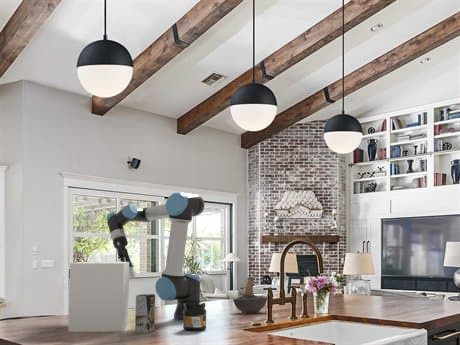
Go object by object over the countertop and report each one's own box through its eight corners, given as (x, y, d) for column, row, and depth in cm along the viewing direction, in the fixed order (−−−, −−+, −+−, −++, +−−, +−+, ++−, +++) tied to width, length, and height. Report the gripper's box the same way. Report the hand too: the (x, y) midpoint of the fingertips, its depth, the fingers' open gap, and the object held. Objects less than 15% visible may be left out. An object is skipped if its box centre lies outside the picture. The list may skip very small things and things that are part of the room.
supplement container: (197, 332, 275) (197, 304, 276) (178, 330, 281) (178, 303, 282) (210, 329, 284) (210, 302, 285) (191, 327, 290) (192, 301, 291)
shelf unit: (128, 325, 298) (129, 261, 301) (122, 331, 277) (123, 263, 280) (77, 325, 297) (79, 261, 300) (68, 331, 276) (70, 263, 280)
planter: (269, 312, 354) (268, 276, 356) (254, 315, 340) (254, 277, 342) (246, 310, 362) (246, 275, 364) (231, 313, 348) (231, 277, 350)
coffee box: (148, 333, 272) (149, 295, 274) (134, 332, 274) (135, 295, 276) (155, 330, 281) (155, 293, 283) (141, 329, 283) (142, 293, 284)
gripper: (119, 250, 346) (129, 284, 335) (105, 232, 324) (115, 268, 313) (132, 245, 346) (142, 279, 335) (119, 227, 325) (129, 262, 314)
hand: (129, 274), depth 324 cm, fingers open, 13 cm apart
